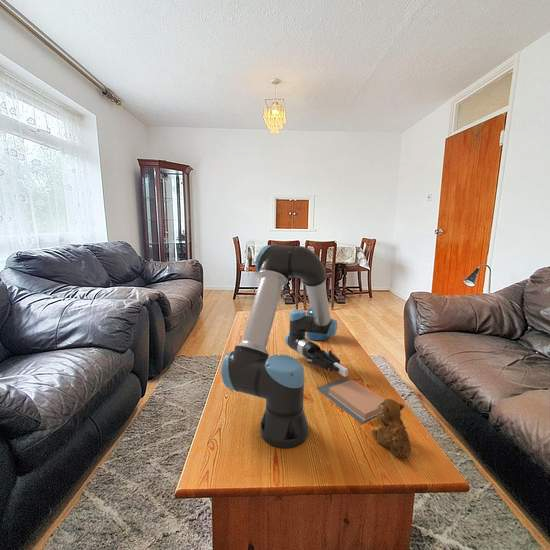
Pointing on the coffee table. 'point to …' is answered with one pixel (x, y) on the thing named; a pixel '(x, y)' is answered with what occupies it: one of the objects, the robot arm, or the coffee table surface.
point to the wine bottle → (314, 335)
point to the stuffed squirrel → (392, 429)
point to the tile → (357, 399)
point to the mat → (325, 391)
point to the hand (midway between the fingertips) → (346, 373)
